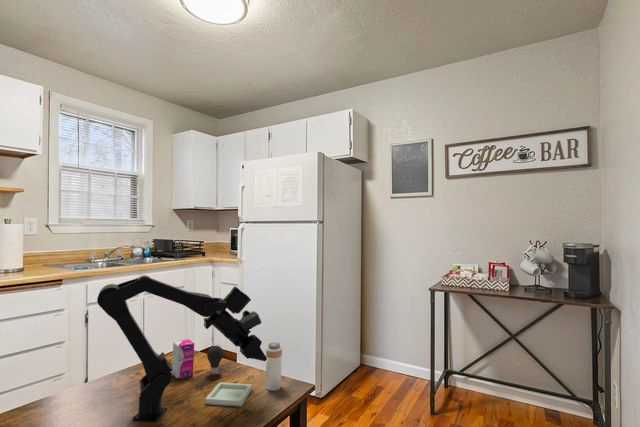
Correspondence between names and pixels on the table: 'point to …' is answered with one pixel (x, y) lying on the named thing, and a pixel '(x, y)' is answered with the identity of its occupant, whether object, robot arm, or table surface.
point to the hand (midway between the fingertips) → (260, 355)
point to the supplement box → (183, 359)
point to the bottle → (273, 366)
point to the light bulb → (215, 358)
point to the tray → (229, 394)
